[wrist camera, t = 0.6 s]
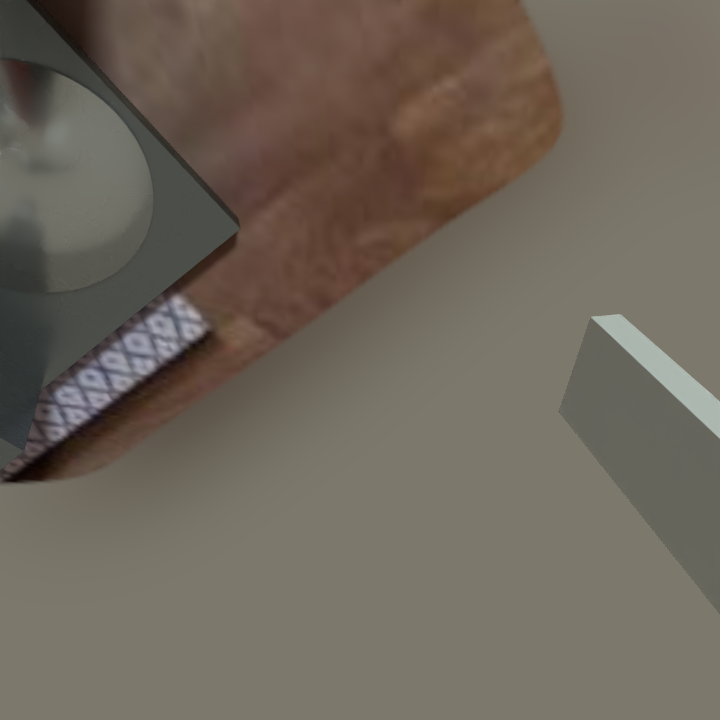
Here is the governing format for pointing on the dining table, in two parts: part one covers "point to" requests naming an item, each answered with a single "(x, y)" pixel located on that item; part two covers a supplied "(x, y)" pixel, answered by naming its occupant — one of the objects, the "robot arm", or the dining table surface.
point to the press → (80, 212)
